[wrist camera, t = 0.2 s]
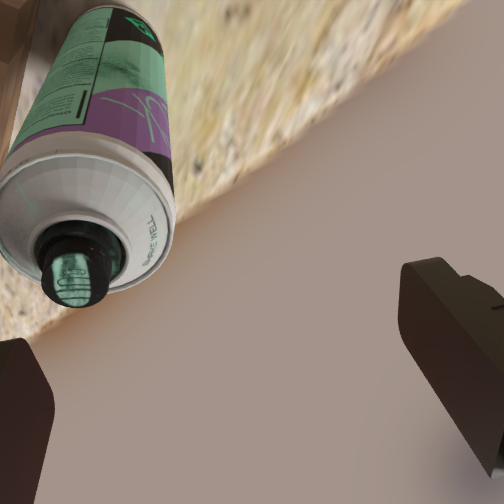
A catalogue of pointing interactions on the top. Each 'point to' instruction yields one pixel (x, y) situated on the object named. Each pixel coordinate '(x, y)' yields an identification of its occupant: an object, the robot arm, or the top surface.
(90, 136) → the spray can
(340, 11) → the top surface
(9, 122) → the walnut holder
